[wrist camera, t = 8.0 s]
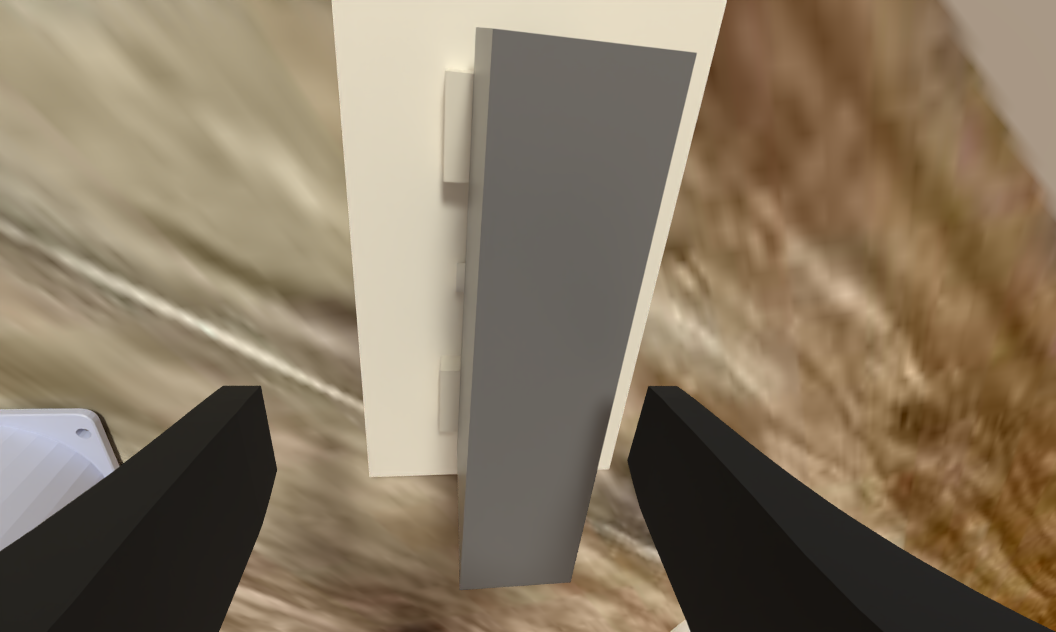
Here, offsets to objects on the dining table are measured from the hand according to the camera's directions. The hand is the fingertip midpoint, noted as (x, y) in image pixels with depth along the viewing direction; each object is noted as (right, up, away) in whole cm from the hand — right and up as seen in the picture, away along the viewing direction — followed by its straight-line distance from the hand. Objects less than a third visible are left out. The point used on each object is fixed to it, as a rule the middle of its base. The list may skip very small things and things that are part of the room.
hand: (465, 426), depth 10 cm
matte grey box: (+1, +3, +7) cm, 8 cm away
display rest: (0, +4, +10) cm, 11 cm away
